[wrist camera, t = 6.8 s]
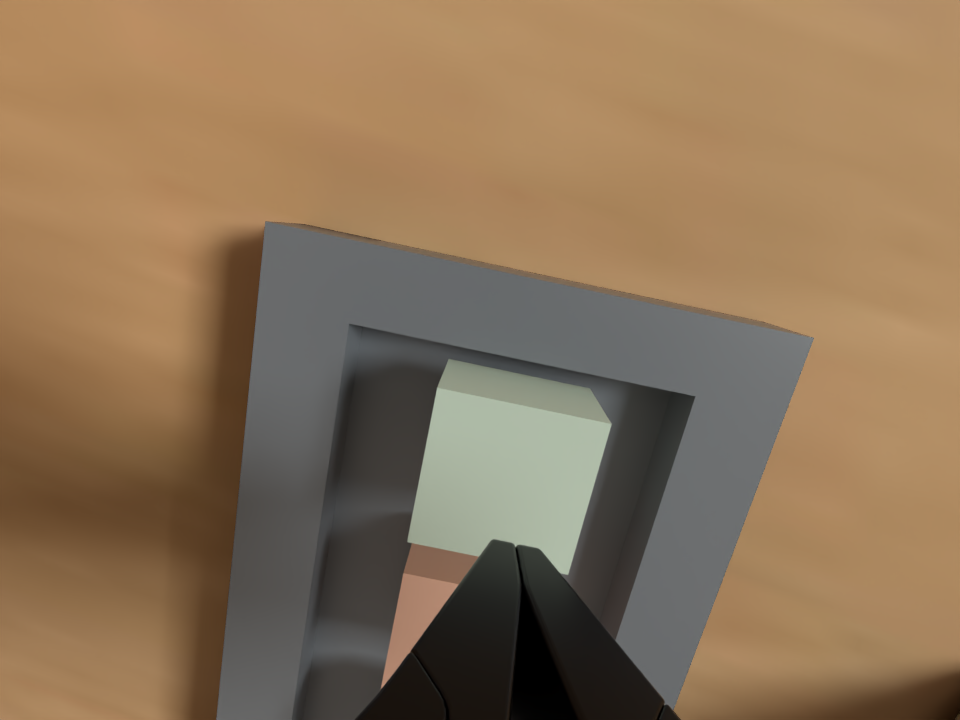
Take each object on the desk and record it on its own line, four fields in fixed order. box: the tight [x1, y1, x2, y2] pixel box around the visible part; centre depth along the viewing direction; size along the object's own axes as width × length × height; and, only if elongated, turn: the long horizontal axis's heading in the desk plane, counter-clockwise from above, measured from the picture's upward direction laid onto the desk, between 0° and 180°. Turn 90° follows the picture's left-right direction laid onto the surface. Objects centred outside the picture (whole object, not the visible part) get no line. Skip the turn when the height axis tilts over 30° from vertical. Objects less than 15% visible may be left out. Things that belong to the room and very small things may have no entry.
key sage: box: [407, 359, 612, 575], centre depth 12 cm, size 4×4×3 cm
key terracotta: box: [381, 543, 478, 689], centre depth 15 cm, size 4×4×3 cm
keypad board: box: [216, 221, 814, 720], centre depth 17 cm, size 25×14×2 cm, turn 168°
